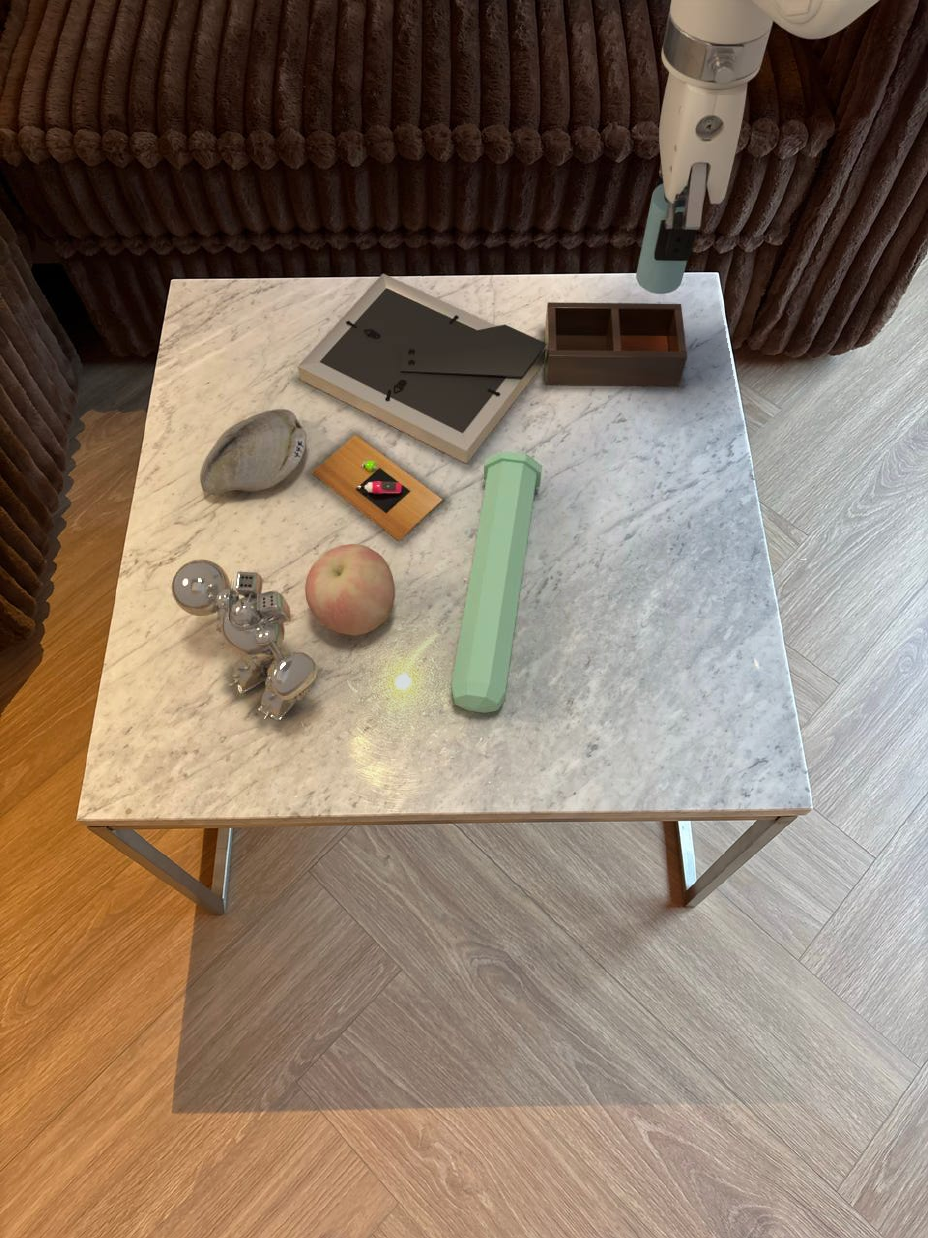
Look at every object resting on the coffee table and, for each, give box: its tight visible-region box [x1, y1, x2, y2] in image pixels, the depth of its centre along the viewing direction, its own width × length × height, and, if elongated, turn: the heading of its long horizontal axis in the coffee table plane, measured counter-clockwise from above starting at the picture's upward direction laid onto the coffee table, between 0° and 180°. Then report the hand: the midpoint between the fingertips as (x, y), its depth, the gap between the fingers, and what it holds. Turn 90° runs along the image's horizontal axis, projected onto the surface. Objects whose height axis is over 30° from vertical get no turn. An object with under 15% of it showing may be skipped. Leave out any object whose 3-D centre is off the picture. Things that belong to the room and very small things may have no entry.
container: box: [450, 450, 543, 714], centre depth 86 cm, size 6×6×25 cm
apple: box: [304, 543, 396, 636], centre depth 84 cm, size 8×8×8 cm
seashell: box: [199, 408, 308, 496], centre depth 93 cm, size 12×8×5 cm
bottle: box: [635, 183, 688, 295], centre depth 86 cm, size 4×4×10 cm
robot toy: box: [171, 559, 318, 721], centre depth 78 cm, size 15×6×15 cm, turn 46°
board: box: [311, 434, 444, 542], centre depth 93 cm, size 6×12×2 cm, turn 48°
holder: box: [544, 301, 688, 388], centre depth 99 cm, size 7×14×4 cm, turn 89°
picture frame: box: [297, 273, 547, 465], centre depth 99 cm, size 16×3×21 cm
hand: (669, 236), depth 87 cm, fingers closed on bottle, 4 cm apart
